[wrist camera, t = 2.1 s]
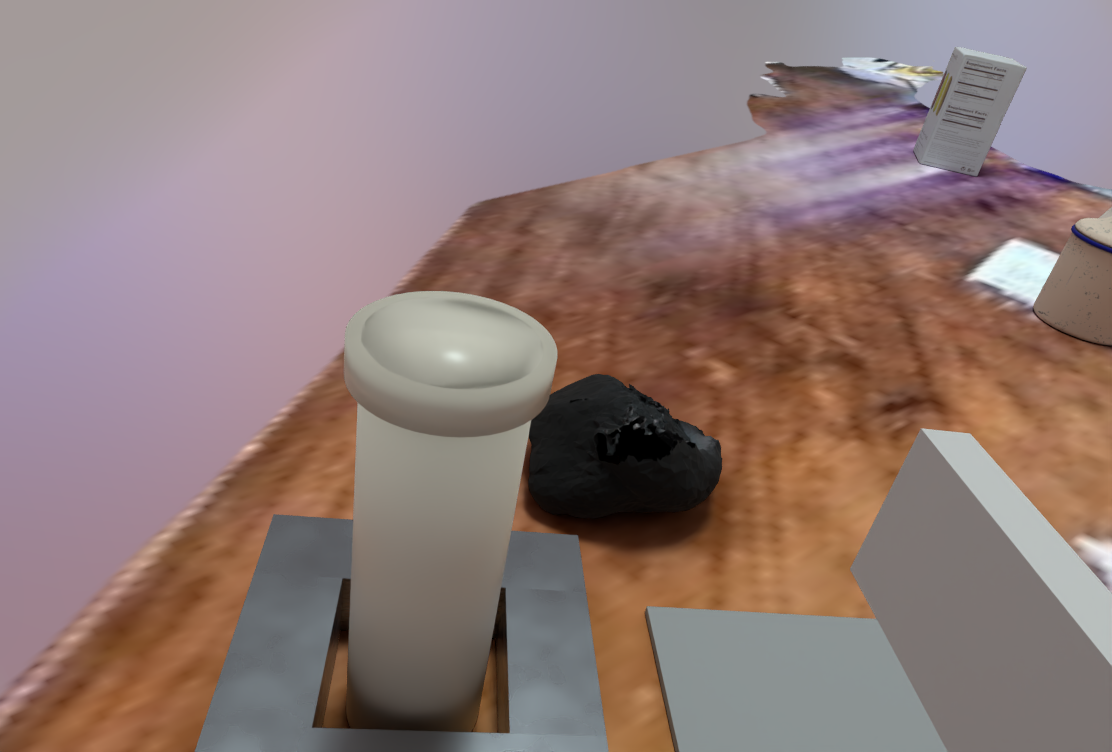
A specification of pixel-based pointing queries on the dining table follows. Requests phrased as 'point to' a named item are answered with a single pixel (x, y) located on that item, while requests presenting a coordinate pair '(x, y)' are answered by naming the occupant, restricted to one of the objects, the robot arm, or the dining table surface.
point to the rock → (617, 453)
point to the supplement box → (967, 110)
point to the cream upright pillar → (434, 497)
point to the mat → (784, 684)
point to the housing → (323, 611)
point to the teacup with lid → (1081, 284)
